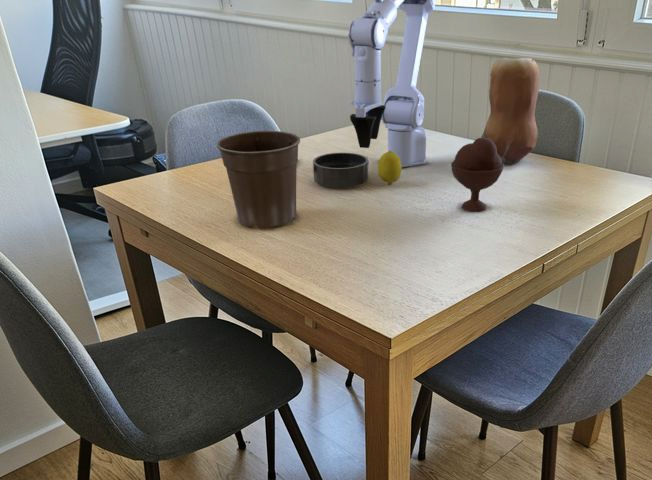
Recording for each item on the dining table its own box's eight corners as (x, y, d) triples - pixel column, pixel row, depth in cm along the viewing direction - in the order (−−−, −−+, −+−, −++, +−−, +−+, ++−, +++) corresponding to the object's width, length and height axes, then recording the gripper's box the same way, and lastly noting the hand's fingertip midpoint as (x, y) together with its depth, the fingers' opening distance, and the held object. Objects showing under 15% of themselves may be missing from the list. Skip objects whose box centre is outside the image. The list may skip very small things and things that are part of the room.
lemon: (377, 181, 150) (376, 147, 145) (399, 180, 150) (400, 147, 146) (379, 189, 145) (379, 154, 141) (402, 188, 145) (403, 153, 141)
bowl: (354, 169, 158) (353, 149, 155) (378, 184, 148) (377, 163, 145) (305, 177, 153) (304, 157, 150) (327, 193, 143) (326, 172, 140)
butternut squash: (500, 151, 170) (511, 51, 157) (543, 160, 163) (558, 56, 149) (470, 162, 162) (478, 57, 148) (514, 172, 154) (527, 63, 141)
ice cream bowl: (502, 201, 137) (510, 131, 129) (494, 219, 129) (501, 146, 120) (455, 196, 140) (460, 128, 132) (444, 213, 131) (448, 141, 123)
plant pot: (214, 216, 131) (202, 138, 123) (280, 199, 140) (273, 125, 131) (251, 240, 121) (240, 157, 112) (320, 220, 129) (315, 141, 120)
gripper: (358, 73, 142) (359, 134, 150) (341, 85, 131) (343, 150, 138) (388, 74, 141) (388, 135, 149) (373, 86, 129) (374, 152, 137)
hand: (368, 142), depth 143 cm, fingers open, 7 cm apart
